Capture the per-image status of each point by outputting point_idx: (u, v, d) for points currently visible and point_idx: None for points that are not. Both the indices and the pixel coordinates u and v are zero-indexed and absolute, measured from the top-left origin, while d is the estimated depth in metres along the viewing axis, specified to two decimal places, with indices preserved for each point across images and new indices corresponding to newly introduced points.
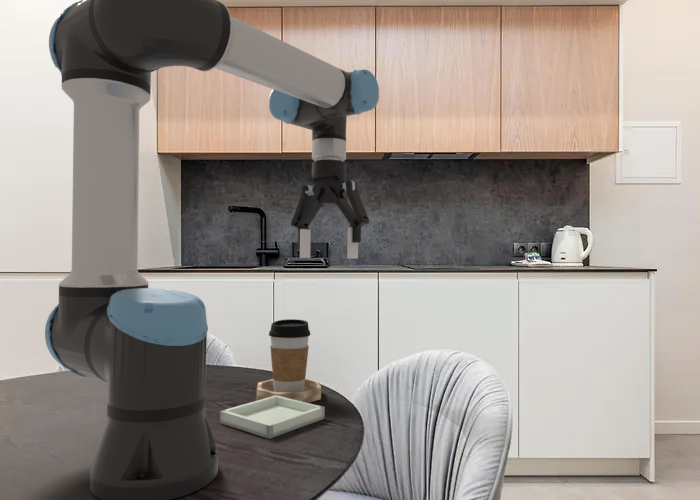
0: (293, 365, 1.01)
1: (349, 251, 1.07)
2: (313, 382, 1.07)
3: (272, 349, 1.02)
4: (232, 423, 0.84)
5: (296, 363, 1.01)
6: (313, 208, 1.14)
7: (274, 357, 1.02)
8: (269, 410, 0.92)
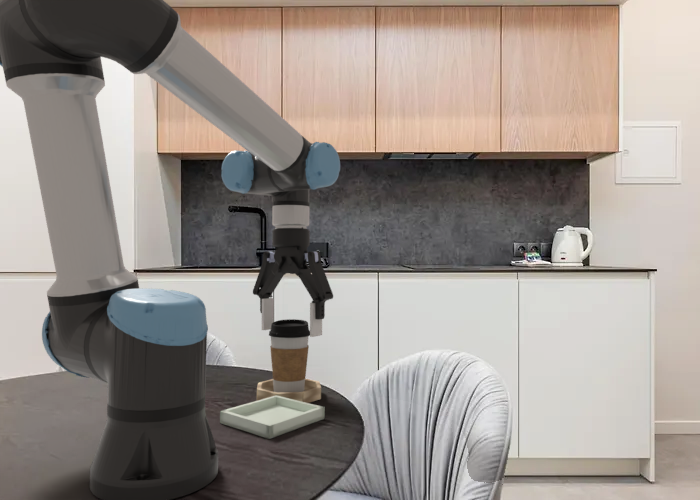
0: (293, 365, 1.01)
1: (312, 329, 0.99)
2: (313, 382, 1.07)
3: (272, 349, 1.02)
4: (232, 423, 0.84)
5: (296, 363, 1.01)
6: (274, 277, 1.06)
7: (274, 357, 1.02)
8: (269, 410, 0.92)
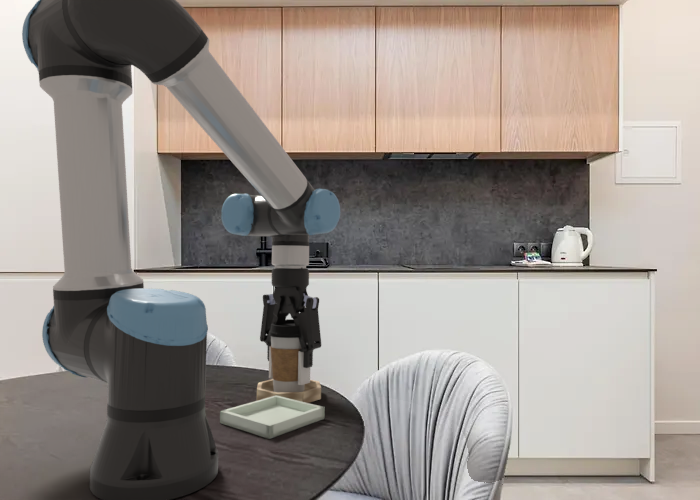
0: (293, 365, 1.01)
1: (300, 377, 1.00)
2: (313, 382, 1.07)
3: (272, 349, 1.02)
4: (232, 423, 0.84)
5: (296, 363, 1.01)
6: (278, 319, 1.05)
7: (274, 357, 1.02)
8: (269, 410, 0.92)
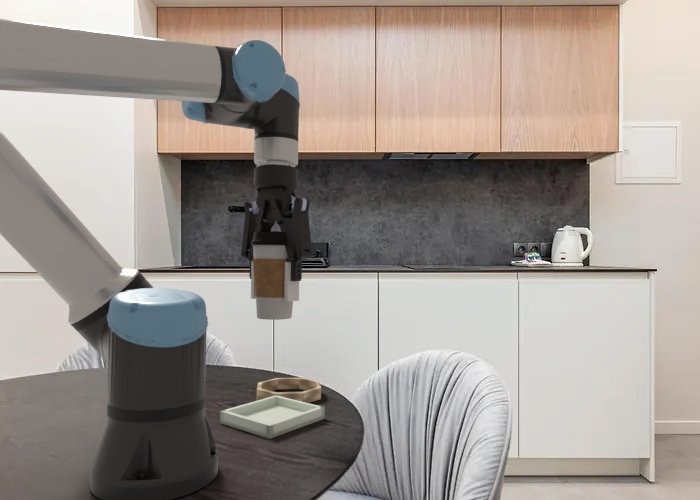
0: (279, 278, 0.85)
1: (286, 292, 0.85)
2: (313, 382, 1.07)
3: (254, 260, 0.86)
4: (232, 423, 0.84)
5: (283, 275, 0.85)
6: (261, 228, 0.89)
7: (256, 269, 0.86)
8: (269, 410, 0.92)
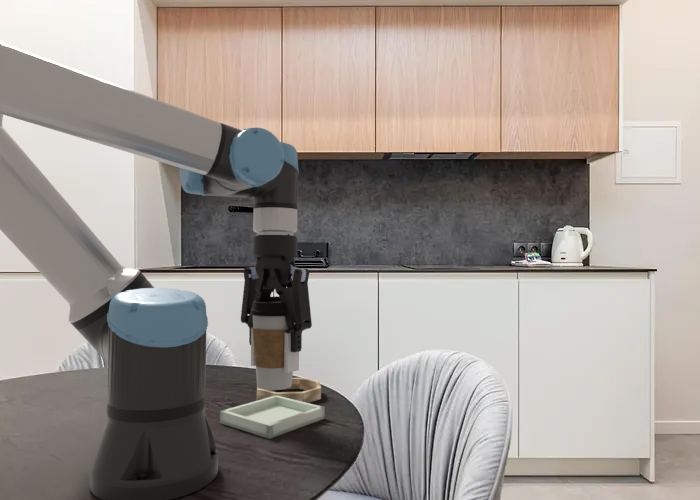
0: (278, 349, 0.85)
1: (286, 363, 0.84)
2: (313, 382, 1.07)
3: (254, 330, 0.86)
4: (232, 423, 0.84)
5: (283, 346, 0.85)
6: (261, 296, 0.89)
7: (256, 339, 0.86)
8: (269, 410, 0.92)
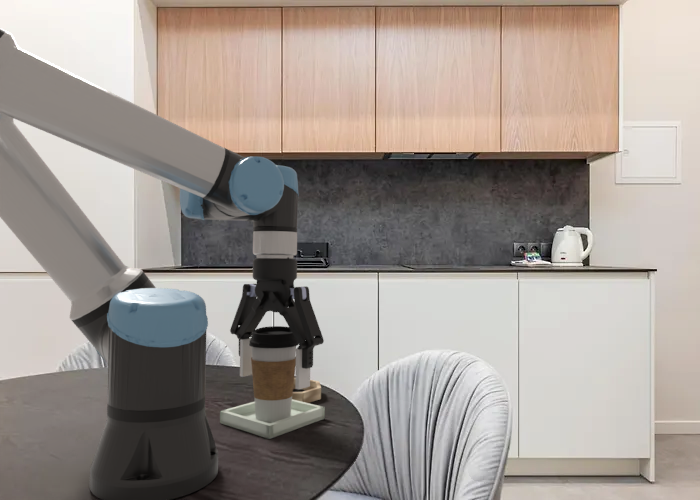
0: (277, 381, 0.85)
1: (297, 380, 0.83)
2: (313, 382, 1.07)
3: (253, 362, 0.86)
4: (232, 423, 0.84)
5: (281, 378, 0.85)
6: (255, 315, 0.90)
7: (255, 371, 0.86)
8: None
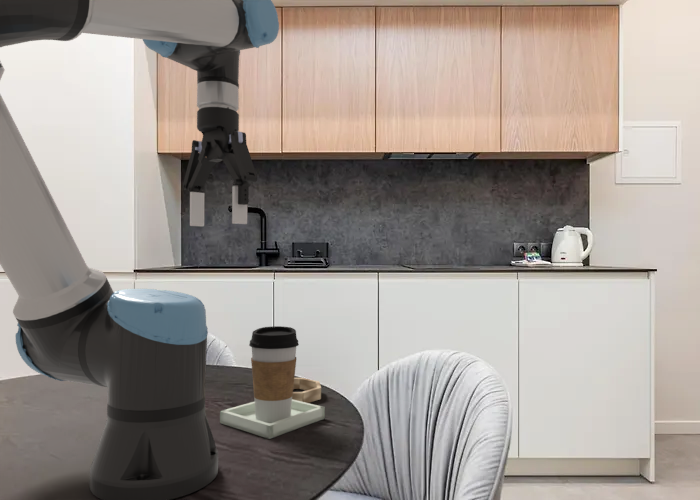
0: (277, 381, 0.85)
1: (234, 215, 0.90)
2: (313, 382, 1.07)
3: (253, 362, 0.86)
4: (232, 423, 0.84)
5: (281, 378, 0.85)
6: (202, 166, 0.97)
7: (255, 371, 0.86)
8: None
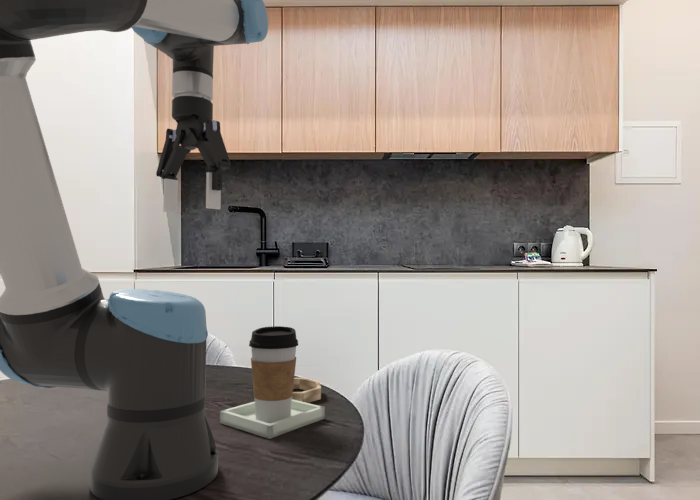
0: (277, 382, 0.85)
1: (207, 200, 0.93)
2: (313, 382, 1.07)
3: (253, 362, 0.86)
4: (232, 423, 0.84)
5: (281, 378, 0.85)
6: (176, 153, 1.00)
7: (255, 371, 0.86)
8: None
